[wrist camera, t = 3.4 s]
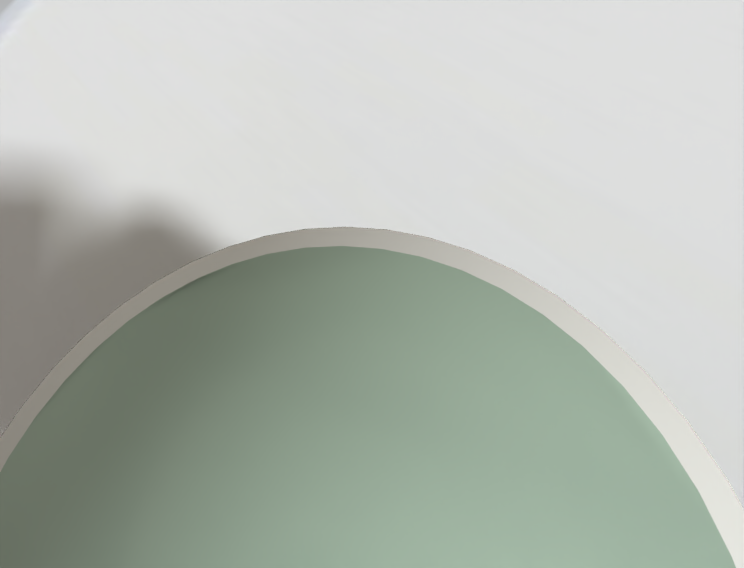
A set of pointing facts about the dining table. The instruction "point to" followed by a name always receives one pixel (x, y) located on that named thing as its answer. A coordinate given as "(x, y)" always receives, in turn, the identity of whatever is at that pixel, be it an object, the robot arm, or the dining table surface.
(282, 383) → the tumbler
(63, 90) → the dining table surface
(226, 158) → the dining table surface
